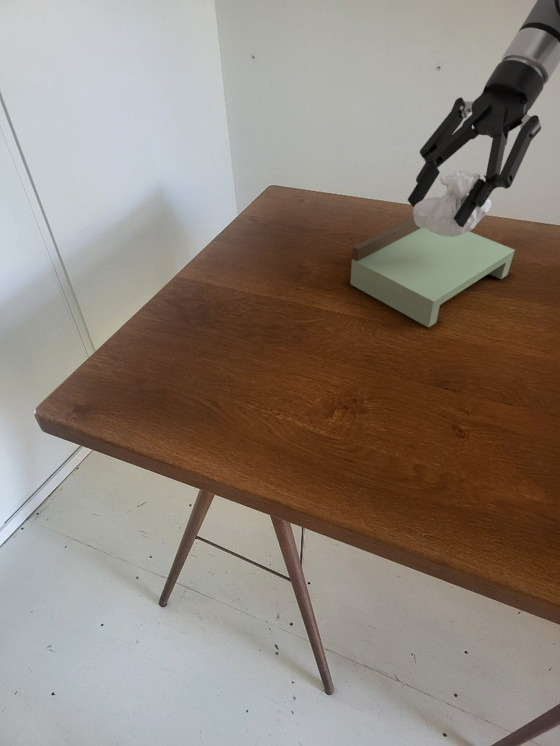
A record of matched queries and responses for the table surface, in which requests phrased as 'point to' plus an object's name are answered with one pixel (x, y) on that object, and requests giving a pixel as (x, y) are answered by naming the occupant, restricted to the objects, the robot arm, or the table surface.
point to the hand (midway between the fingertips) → (434, 213)
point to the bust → (449, 206)
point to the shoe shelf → (424, 267)
